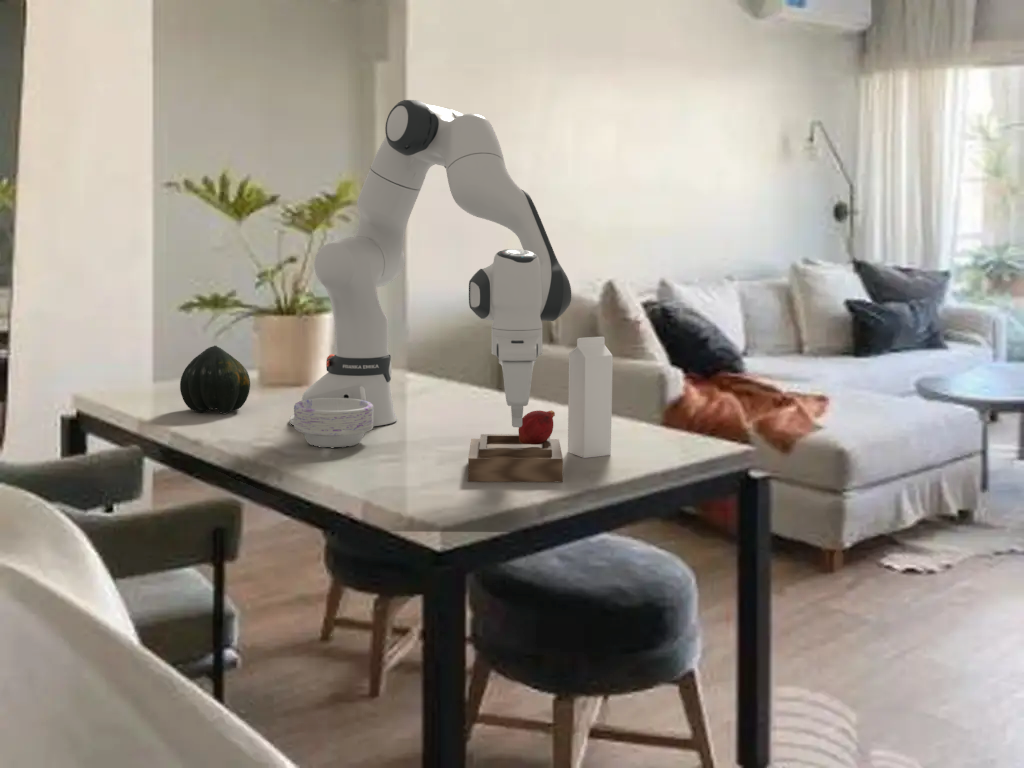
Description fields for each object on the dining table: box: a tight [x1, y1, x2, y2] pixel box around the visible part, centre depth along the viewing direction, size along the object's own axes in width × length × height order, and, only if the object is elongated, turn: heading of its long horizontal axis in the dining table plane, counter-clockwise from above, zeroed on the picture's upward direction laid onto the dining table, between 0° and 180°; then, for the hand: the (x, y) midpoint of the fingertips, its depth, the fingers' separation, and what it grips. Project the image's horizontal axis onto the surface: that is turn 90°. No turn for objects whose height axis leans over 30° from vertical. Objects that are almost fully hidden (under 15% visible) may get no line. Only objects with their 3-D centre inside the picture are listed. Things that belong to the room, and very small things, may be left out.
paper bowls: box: [293, 398, 374, 448], centre depth 230 cm, size 15×15×8 cm
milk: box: [567, 336, 614, 459], centre depth 222 cm, size 6×6×22 cm
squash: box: [179, 345, 251, 414], centre depth 263 cm, size 14×15×15 cm
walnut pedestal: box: [467, 433, 564, 483], centre depth 209 cm, size 16×16×5 cm
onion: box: [518, 410, 556, 445], centre depth 209 cm, size 6×6×8 cm
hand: (516, 422), depth 208 cm, fingers open, 5 cm apart
